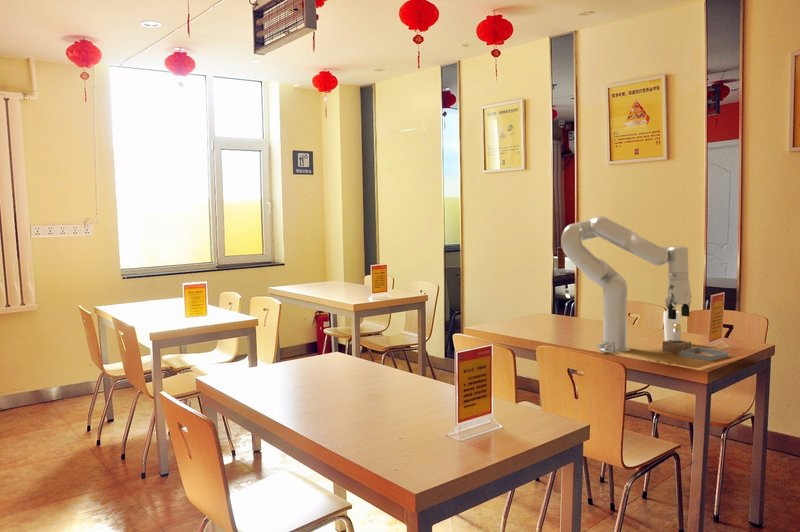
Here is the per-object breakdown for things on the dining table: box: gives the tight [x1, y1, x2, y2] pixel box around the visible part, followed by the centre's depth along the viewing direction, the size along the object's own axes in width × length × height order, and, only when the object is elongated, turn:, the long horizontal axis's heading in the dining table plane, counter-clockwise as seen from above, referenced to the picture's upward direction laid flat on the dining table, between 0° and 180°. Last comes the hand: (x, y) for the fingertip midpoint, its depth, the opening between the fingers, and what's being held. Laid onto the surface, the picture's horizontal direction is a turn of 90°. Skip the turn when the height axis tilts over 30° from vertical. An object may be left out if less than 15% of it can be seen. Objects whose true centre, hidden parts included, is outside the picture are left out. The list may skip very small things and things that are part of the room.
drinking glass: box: [662, 310, 681, 341], centre depth 282 cm, size 7×7×15 cm
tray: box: [678, 346, 729, 362], centre depth 256 cm, size 13×13×3 cm
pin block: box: [661, 339, 692, 355], centre depth 266 cm, size 8×8×5 cm
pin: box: [673, 323, 682, 343], centre depth 265 cm, size 3×3×12 cm
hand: (678, 317), depth 264 cm, fingers open, 9 cm apart
